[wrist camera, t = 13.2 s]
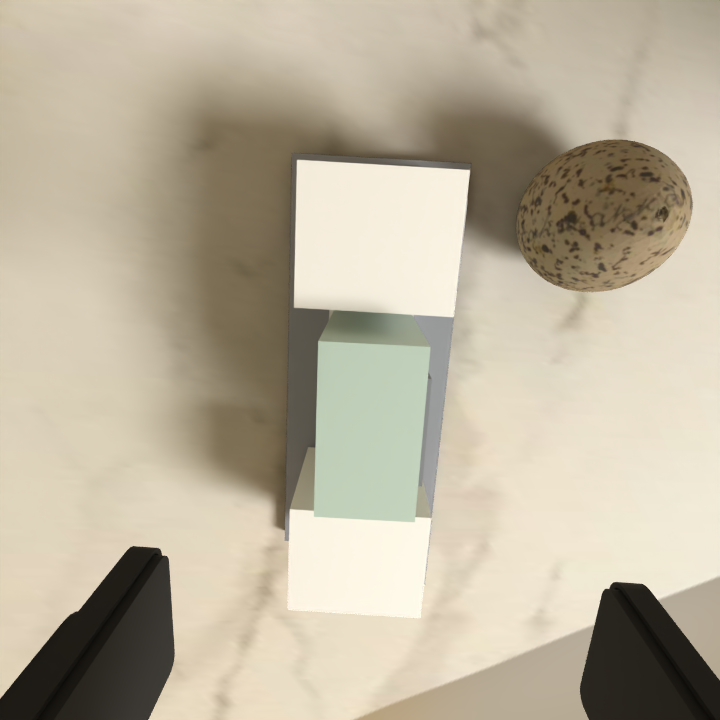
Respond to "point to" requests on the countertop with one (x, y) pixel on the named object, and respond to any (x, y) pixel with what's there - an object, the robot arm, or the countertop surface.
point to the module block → (371, 416)
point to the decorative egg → (603, 215)
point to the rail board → (380, 295)
